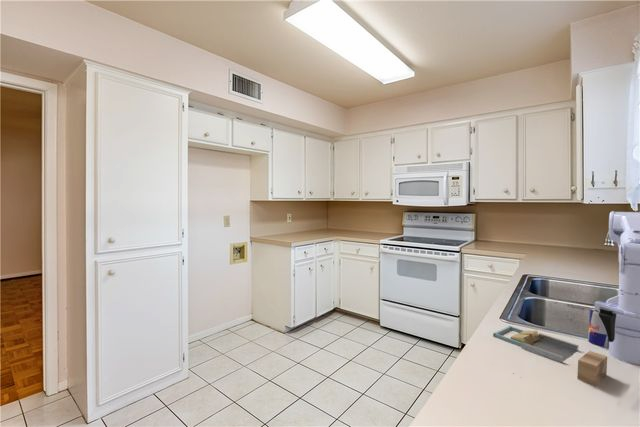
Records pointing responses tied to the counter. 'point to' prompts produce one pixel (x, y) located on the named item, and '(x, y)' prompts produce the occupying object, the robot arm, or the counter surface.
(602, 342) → the energy drink
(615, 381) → the counter surface
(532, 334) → the brass chip
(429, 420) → the counter surface
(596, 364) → the tan rectangular block
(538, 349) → the slot plate
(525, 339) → the brass chip
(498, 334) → the tray
